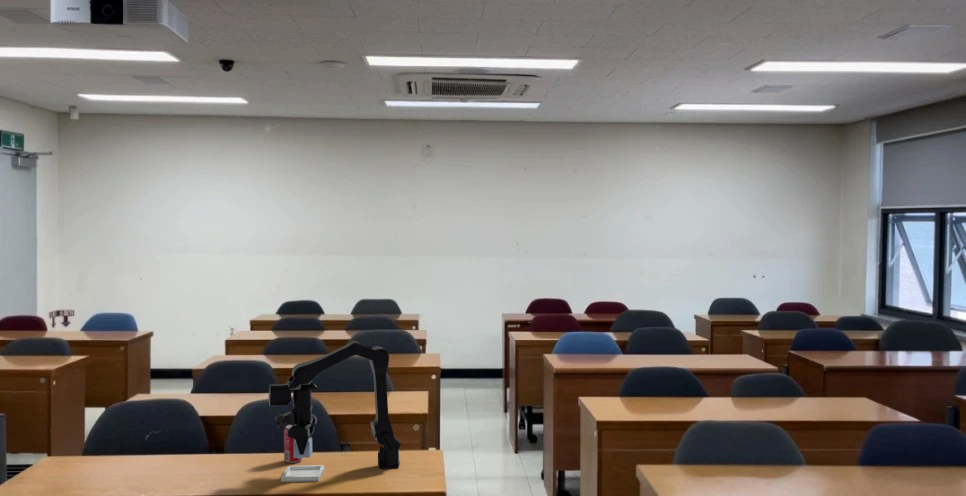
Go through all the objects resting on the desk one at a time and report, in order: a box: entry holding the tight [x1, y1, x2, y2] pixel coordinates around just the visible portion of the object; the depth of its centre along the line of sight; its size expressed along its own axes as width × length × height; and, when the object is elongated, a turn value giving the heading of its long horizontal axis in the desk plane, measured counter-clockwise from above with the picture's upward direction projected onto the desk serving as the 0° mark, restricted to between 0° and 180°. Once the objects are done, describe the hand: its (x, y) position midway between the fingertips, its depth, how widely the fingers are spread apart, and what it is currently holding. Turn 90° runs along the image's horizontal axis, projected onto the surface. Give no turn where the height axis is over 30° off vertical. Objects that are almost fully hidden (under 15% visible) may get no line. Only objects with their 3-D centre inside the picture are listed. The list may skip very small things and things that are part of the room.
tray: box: [280, 464, 325, 483], centre depth 243 cm, size 12×12×2 cm
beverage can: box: [283, 424, 304, 464], centre depth 259 cm, size 6×6×12 cm
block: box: [293, 437, 313, 459], centre depth 243 cm, size 5×5×5 cm
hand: (303, 452), depth 243 cm, fingers closed on block, 5 cm apart
